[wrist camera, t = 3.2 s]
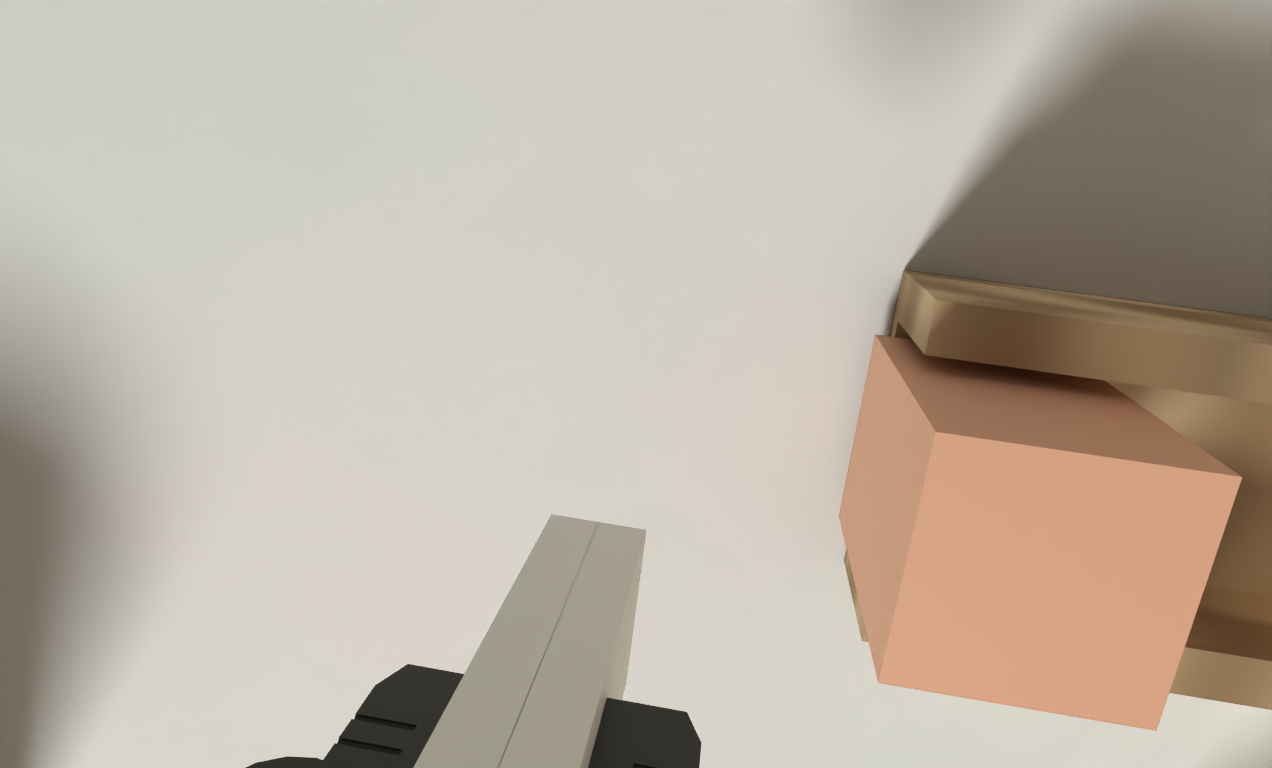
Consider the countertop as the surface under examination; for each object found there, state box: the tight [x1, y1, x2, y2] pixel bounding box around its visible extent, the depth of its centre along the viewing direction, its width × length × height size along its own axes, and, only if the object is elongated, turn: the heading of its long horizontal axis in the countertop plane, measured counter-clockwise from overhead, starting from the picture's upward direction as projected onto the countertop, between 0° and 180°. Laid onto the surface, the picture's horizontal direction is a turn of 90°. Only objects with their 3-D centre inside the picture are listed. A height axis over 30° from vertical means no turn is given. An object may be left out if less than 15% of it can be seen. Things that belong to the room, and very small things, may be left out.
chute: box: [844, 270, 1272, 710], centre depth 21 cm, size 16×8×4 cm, turn 83°
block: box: [839, 335, 1242, 731], centre depth 19 cm, size 5×5×8 cm
